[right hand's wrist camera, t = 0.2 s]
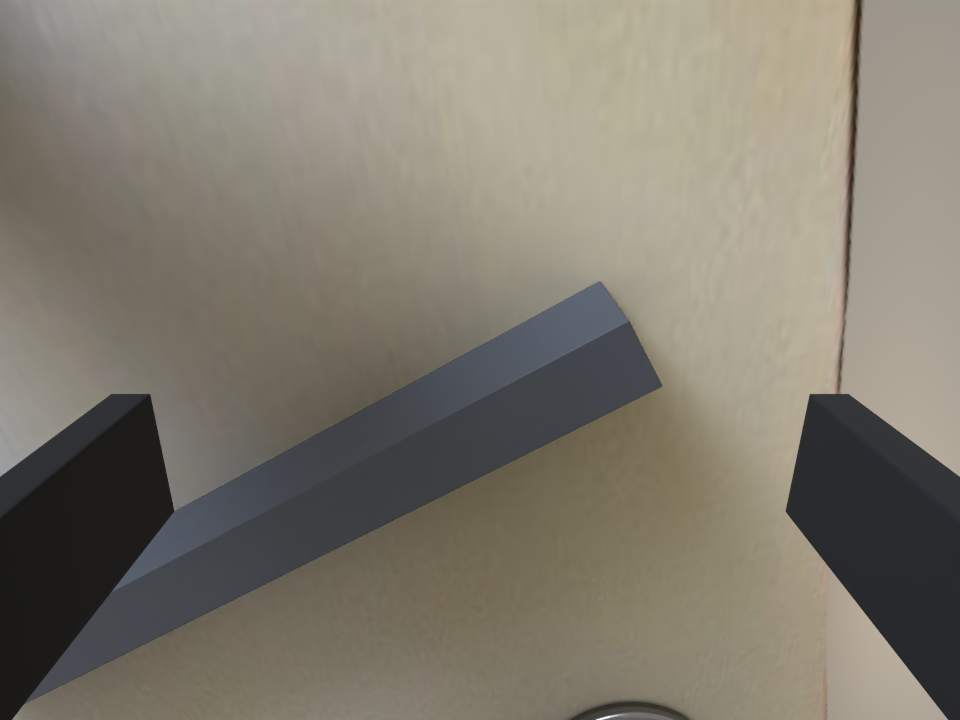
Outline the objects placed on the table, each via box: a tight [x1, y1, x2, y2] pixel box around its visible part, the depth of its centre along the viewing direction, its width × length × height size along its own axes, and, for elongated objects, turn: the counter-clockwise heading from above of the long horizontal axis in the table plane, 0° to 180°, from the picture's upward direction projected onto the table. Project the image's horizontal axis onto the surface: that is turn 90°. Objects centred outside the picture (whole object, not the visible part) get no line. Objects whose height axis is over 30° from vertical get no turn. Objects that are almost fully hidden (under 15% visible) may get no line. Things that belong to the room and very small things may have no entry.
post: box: [24, 281, 662, 704], centre depth 43 cm, size 61×4×8 cm, turn 120°
